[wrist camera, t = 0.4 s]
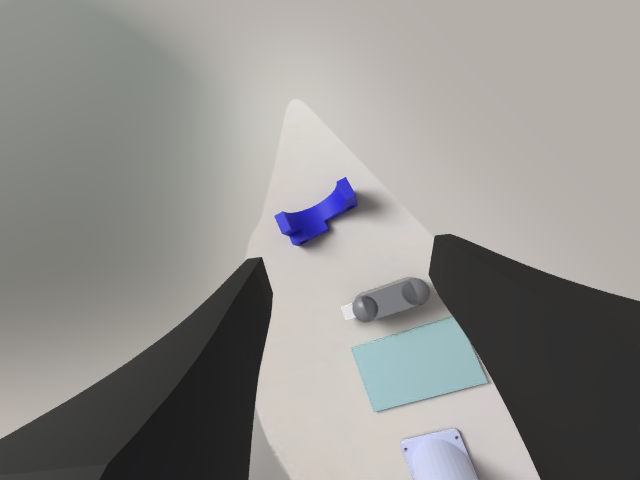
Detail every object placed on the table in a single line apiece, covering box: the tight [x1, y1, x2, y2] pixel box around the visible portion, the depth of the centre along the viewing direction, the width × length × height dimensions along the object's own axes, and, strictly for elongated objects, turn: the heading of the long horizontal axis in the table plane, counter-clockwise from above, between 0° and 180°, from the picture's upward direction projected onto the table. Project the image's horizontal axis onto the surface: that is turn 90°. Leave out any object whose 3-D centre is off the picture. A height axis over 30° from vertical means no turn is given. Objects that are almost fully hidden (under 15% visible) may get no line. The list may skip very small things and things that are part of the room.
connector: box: [341, 277, 430, 322], centre depth 33 cm, size 4×12×4 cm, turn 110°
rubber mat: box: [351, 316, 488, 412], centre depth 33 cm, size 9×16×1 cm, turn 110°
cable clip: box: [275, 177, 357, 246], centre depth 36 cm, size 12×4×6 cm, turn 116°
